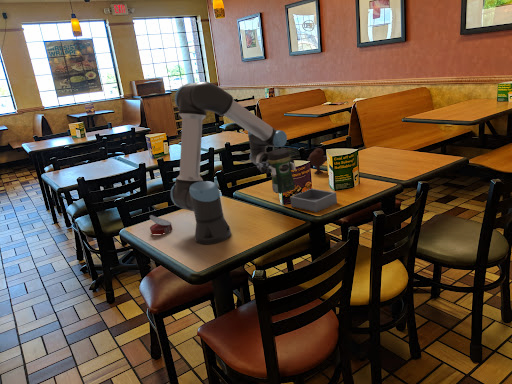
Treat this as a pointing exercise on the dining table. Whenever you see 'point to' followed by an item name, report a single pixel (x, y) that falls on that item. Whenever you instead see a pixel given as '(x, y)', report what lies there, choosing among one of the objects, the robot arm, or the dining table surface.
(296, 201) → the open box
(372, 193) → the dining table surface
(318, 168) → the ice cream bowl
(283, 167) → the coffee jar
